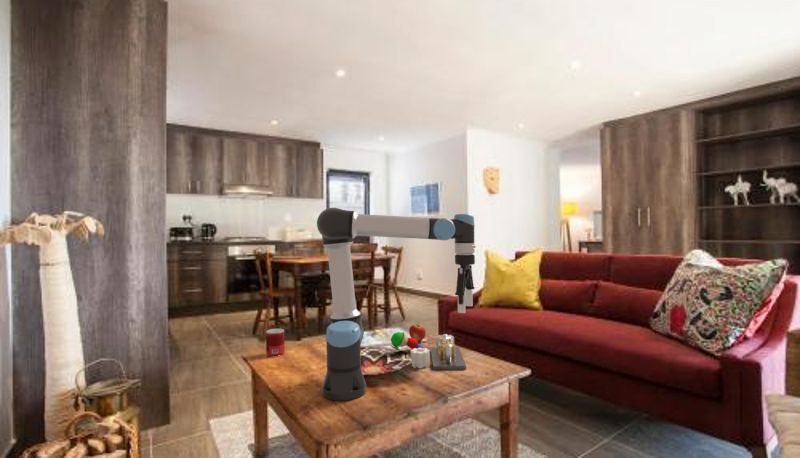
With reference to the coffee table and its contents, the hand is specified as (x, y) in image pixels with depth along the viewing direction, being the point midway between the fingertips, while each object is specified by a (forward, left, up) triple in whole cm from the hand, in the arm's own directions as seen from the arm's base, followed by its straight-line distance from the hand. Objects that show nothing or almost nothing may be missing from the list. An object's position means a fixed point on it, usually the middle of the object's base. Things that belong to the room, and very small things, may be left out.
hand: (465, 309), depth 155 cm
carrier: (-6, +18, -25) cm, 31 cm away
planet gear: (-18, +11, -25) cm, 32 cm away
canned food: (-84, +27, -25) cm, 91 cm away
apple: (-18, +46, -25) cm, 55 cm away
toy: (-23, +29, -25) cm, 45 cm away
